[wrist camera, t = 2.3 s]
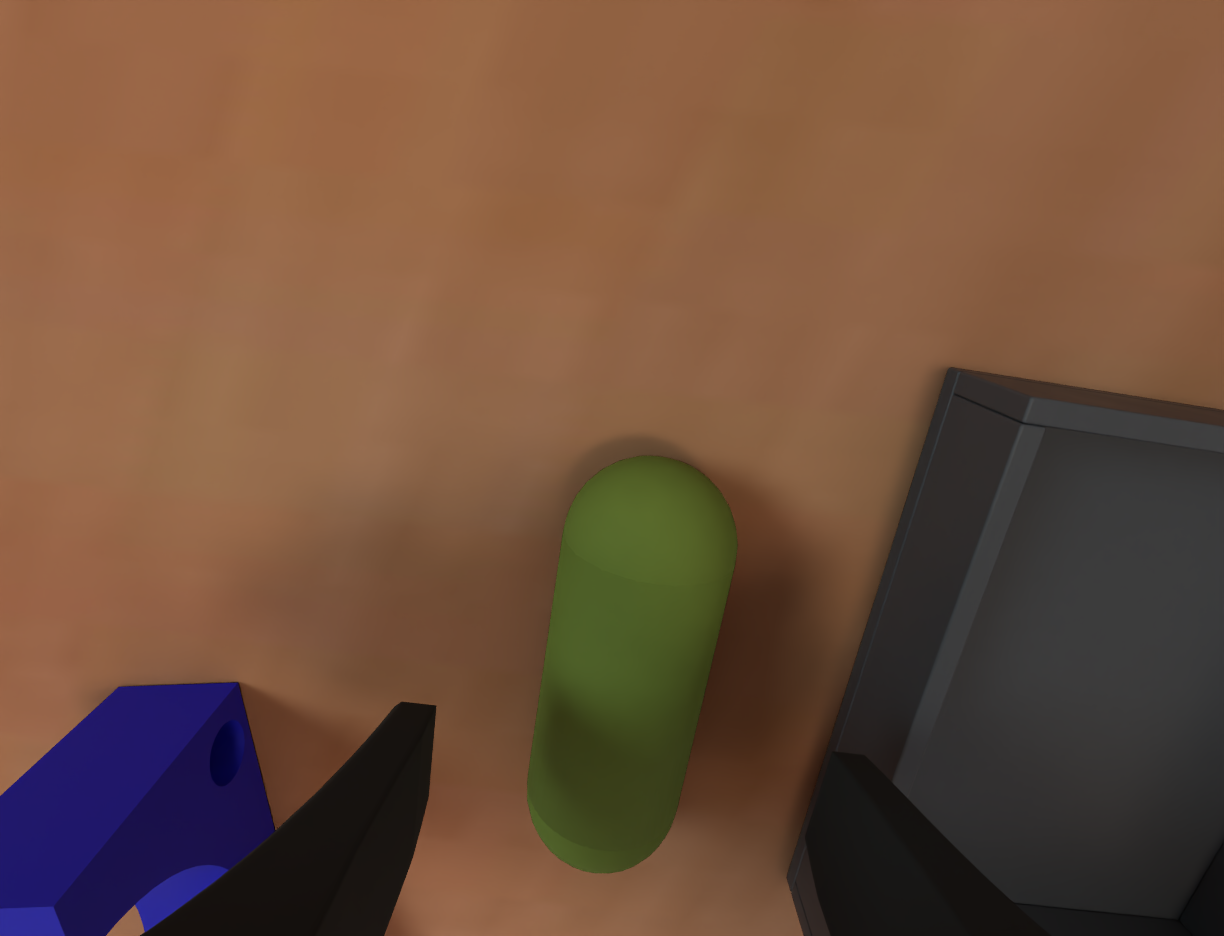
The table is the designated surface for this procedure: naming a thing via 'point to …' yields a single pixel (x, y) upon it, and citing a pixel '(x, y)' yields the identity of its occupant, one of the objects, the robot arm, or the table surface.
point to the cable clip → (131, 812)
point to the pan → (1055, 656)
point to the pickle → (627, 659)
